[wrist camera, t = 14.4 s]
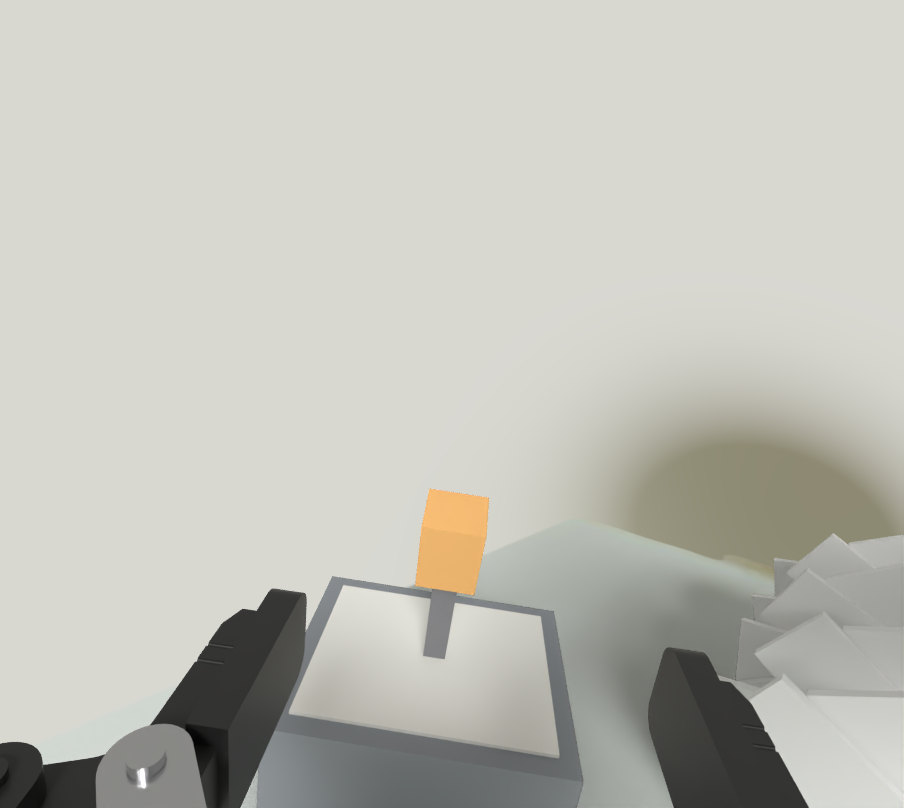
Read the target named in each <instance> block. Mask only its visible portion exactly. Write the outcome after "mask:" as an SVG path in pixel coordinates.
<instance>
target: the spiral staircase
mask: <svg viewBox="0 0 904 808" xmlns="http://www.w3.org/2000/svg"><path fill="white" fill-rule="evenodd" d="M774 580H775V596H767V595H759V594H753V595H752V602H753V610H754V618H755V621H754V620H751V619H747V618H744V617H743V618H742V620H741V628H740V638H739V649H738V660H737V671H736V680H733V679H729V678H726V677H723V676H719V675H717V676H718V678H719V680H720V681H726V682H731V683H732V684H733V685H734V686H735V687H736V688H737V689H738V690H739V691H740V692H741V693H742V694H743V695H744V696H745V697H746V699H747V700H748V701H749V702H750V703H751V704H752V705H753V707H754V709H755V711H756V713H757V714H758V716H759V718H760V720H761V722H762V723H763V725H764V730H765V732H767V733H768V734H769V736H770V738H771V740H772V742H773V743H774V745H775V750H776V752H779V754H780V756H781V758H782V760H783V761H784V763H785V765H786V767H787V769H788V770H789V772H790V774H791V776H792V778H793V780H794V781H795V783H796V785H797V787H798V789H799V790H800V792H801V794H802V796H803V798H804V799H805V801H806V803H807V805H808V807H809V808H904V535H898V536H891V537H885V538H878V539H871V540H864V541H858V542H851V543H849V545H847V544H846V543H845V542H844V541H842V540H841V539H840V538H839V537H837V536H836V535H835V534H834V533H833V534H832V535H831V536H830V537H828V538H827V539H826V540H825V541H823V542H822V543H821V544H820V545H819V546H818V547H816V548H815V549H814V550H813V551H811V552H810V553H809V554H808V555H806V556H805V557H804V558H803V559H802V560H800V561H793V560H786V559H779V558H775V559H774Z"/></svg>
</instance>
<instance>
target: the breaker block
mask: <svg viewBox="0 0 904 808" xmlns="http://www.w3.org/2000/svg"><path fill="white" fill-rule="evenodd" d="M431 595H432V592H428V591H422V590H416V589H409V588H403V587H396V586H390V585H384V584H377V583H371V582H365V581H359V580H352V579H346V578H340V577H332V579H331V581H330V583H329V585H328V587H327V589H326V591H325V593H324V595H323V597H322V600H321V602H320V604H319V606H318V608H317V610H316V612H315V614H314V616H313V618H312V620H311V622H310V625H309V627H308V629H307V631H306V633H305V650H304V657H303V662H302V666H301V670H300V673H299V676H298V679H297V681H296V683H295V686H294V688H293V690H292V692H291V695H290V697H289V699H288V701H287V704H286V706H285V708H284V710H283V713H282V715H281V717H280V719H279V722H278V724H277V726H276V728H275V731H274V733H273V735H272V737H271V740H270V742H269V744H268V746H267V749H266V751H265V753H264V755H263V758H262V760H261V762H260V764H259V767H258V786H257V808H577V804H578V801H579V797H580V793H581V790H582V786H583V777H582V771H581V765H580V759H579V754H578V748H577V742H576V736H575V731H574V725H573V719H572V713H571V708H570V702H569V696H568V690H567V685H566V679H565V673H564V667H563V661H562V656H561V650H560V644H559V638H558V633H557V627H556V621H555V615H554V611H548V610H542V609H535V608H529V607H523V606H517V605H510V604H504V603H498V602H491V601H485V600H479V599H472V598H466V597H460V596H456V599H455V605H454V610H453V616H452V621H451V627H450V633H449V638H448V644H447V649H446V655H445V659H439V658H433V657H427V656H423V653H424V646H425V638H426V631H427V624H428V616H429V609H430V602H431Z"/></svg>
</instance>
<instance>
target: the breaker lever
mask: <svg viewBox="0 0 904 808" xmlns="http://www.w3.org/2000/svg"><path fill="white" fill-rule="evenodd" d="M488 506H489V498H486V497H480V496H474V495H467V494H460V493H454V492H447V491H441V490H434V489H429V494H428V498H427V503H426V508H425V514H424V518H423V523H422V528H421V538H420V548H419V556H418V565H417V574H416V584H415V586H419V587H426V588H432V595H431V602H430V609H429V616H428V624H427V631H426V638H425V646H424V653H423V656H427V657H433V658H439V659H445V655H446V649H447V644H448V638H449V633H450V627H451V621H452V616H453V610H454V605H455V599H456V593H464V594H470V595H474V594H475V589H476V584H477V579H478V575H479V570H480V565H481V560H482V556H483V551H484V546H485V541H486V535H487V521H488Z"/></svg>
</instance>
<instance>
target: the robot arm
mask: <svg viewBox="0 0 904 808" xmlns="http://www.w3.org/2000/svg"><path fill="white" fill-rule="evenodd" d="M306 603H307V602H306V594H305V593H300V592H293V591H287V590H280V589H271V590H270V591H269V592H268V594H267V595H266V597H265V599H264V600H263V602H262V603H261V605H260V606H259V608H258V610H257V611H254V610H247V609H242V610H240V611H239V612H238V613H236V614H235V615H233V616H232V617H231V618H229V619H228V620H226V621H225V622H223V623H222V624H221V626H220V627H219V629H218V630H217V631H216V633H215V634H214V636H213V637H212V639H211V640H210V641H209V644H208V646H206V647H205V649H204V650H203V651H202V653H201V654H200V656H199V657H198V660H197V662H195V663H194V664H193V665H192V667H191V668H190V670H189V671H188V673H187V674H186V675H185V677H184V678H183V680H182V681H181V683H180V684H179V685H178V687H177V688H176V690H175V691H174V692H173V694H172V695H171V697H170V698H169V700H168V701H167V702H166V704H165V705H164V707H163V708H162V710H161V711H160V712H159V714H158V715H157V717H156V718H155V719H154V721H153V722H152V723H151V725H150V726H146V727H143V728H140V729H138V730H136V731H133V732H132V733H130V734H128V735H126V736H125V737H123V738H122V739H120V740H119V741H118V742H117V743H116V744H114V745H113V746H112V747H111V748H110V749H109V750H108V752H107V753H106V754H105V755H102V756H98V757H94V758H88V759H82V760H75V761H68V762H61V763H54V764H48V765H43V762H42V757H41V754H40V752H39V751H38V749H37V748H35V747H34V746H32V745H30V744H27V743H22V742H8V743H2V744H0V808H240V807H241V805H242V803H243V800H244V798H245V796H246V794H247V791H248V789H249V787H250V785H251V782H252V780H253V778H254V776H255V773H256V771H257V769H258V767H259V764H260V762H261V760H262V758H263V755H264V753H265V751H266V749H267V746H268V744H269V742H270V740H271V737H272V735H273V733H274V731H275V728H276V726H277V724H278V722H279V719H280V717H281V715H282V713H283V710H284V708H285V706H286V704H287V701H288V699H289V697H290V695H291V692H292V690H293V688H294V686H295V683H296V681H297V679H298V676H299V673H300V670H301V666H302V662H303V657H304V650H305V628H306V627H305V626H306ZM648 720H649V729H650V733H651V737H652V740H653V743H654V746H655V750H656V753H657V756H658V759H659V762H660V765H661V769H662V772H663V775H664V778H665V781H666V784H667V787H668V791H669V794H670V797H671V800H672V803H673V806H674V808H809V807H808V805H807V803H806V801H805V799H804V798H803V796H802V794H801V792H800V790H799V789H798V787H797V785H796V783H795V781H794V780H793V778H792V776H791V774H790V772H789V770H788V769H787V767H786V765H785V763H784V761H783V760H782V758H781V756H780V754H779V752H776V750H775V745H774V743H773V742H772V740H771V738H770V736H769V734H768V733H767V732H765V730H764V725H763V723H762V722H761V720H760V718H759V716H758V714H757V713H756V711H755V709H754V707H753V705H752V704H751V703H750V702H749V701H748V700H747V699H746V697H745V696H744V695H743V694H742V693H741V692H740V691H739V690H738V689H737V688H736V687H735V686H734V685H733V684H732V683H731V682H726V681H720V680H719V678H718V676H717V674H716V672H715V670H714V668H713V666H712V664H711V662H710V660H709V658H708V657H707V655H706V654H705V653H703V652H697V651H690V650H683V649H676V648H670V647H669V648H666V650H665V651H664V653H663V656H662V659H661V663H660V666H659V670H658V674H657V677H656V681H655V684H654V688H653V691H652V695H651V698H650V702H649V710H648Z"/></svg>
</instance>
